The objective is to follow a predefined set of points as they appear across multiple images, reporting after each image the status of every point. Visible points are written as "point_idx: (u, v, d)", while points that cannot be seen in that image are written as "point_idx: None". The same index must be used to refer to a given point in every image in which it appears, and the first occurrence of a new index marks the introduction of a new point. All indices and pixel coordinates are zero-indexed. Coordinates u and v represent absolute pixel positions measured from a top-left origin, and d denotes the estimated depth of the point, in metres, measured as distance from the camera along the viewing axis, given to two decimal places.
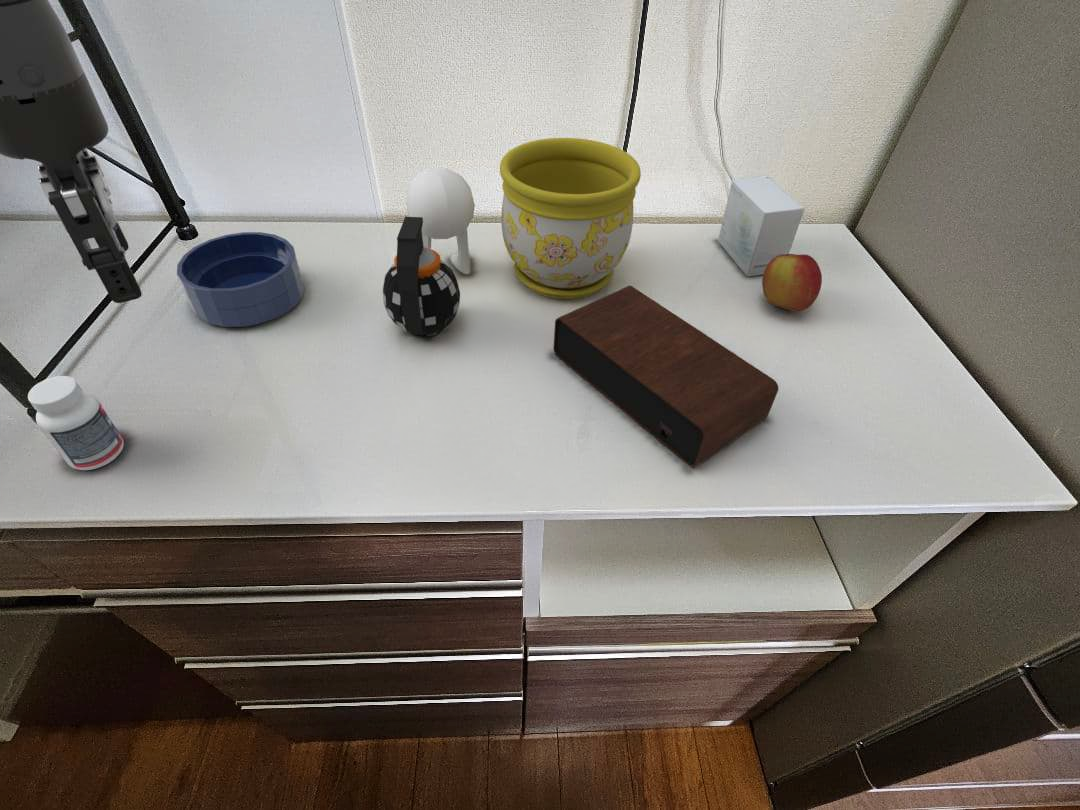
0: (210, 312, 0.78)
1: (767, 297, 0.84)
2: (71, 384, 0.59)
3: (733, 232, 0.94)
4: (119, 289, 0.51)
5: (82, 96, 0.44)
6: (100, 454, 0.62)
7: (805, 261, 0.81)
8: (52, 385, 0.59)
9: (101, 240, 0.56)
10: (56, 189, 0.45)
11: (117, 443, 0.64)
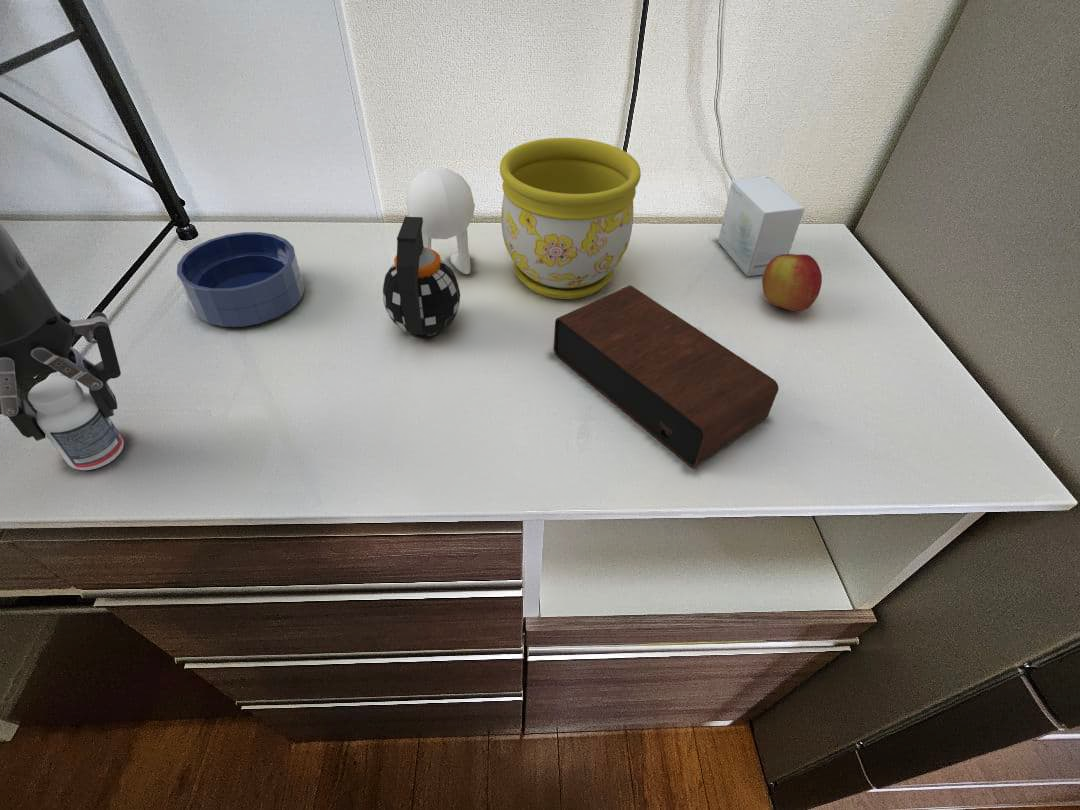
0: (210, 312, 0.78)
1: (767, 297, 0.84)
2: (71, 384, 0.59)
3: (733, 232, 0.94)
4: None
5: None
6: (100, 454, 0.62)
7: (805, 261, 0.81)
8: (52, 385, 0.59)
9: None
10: None
11: (117, 443, 0.64)
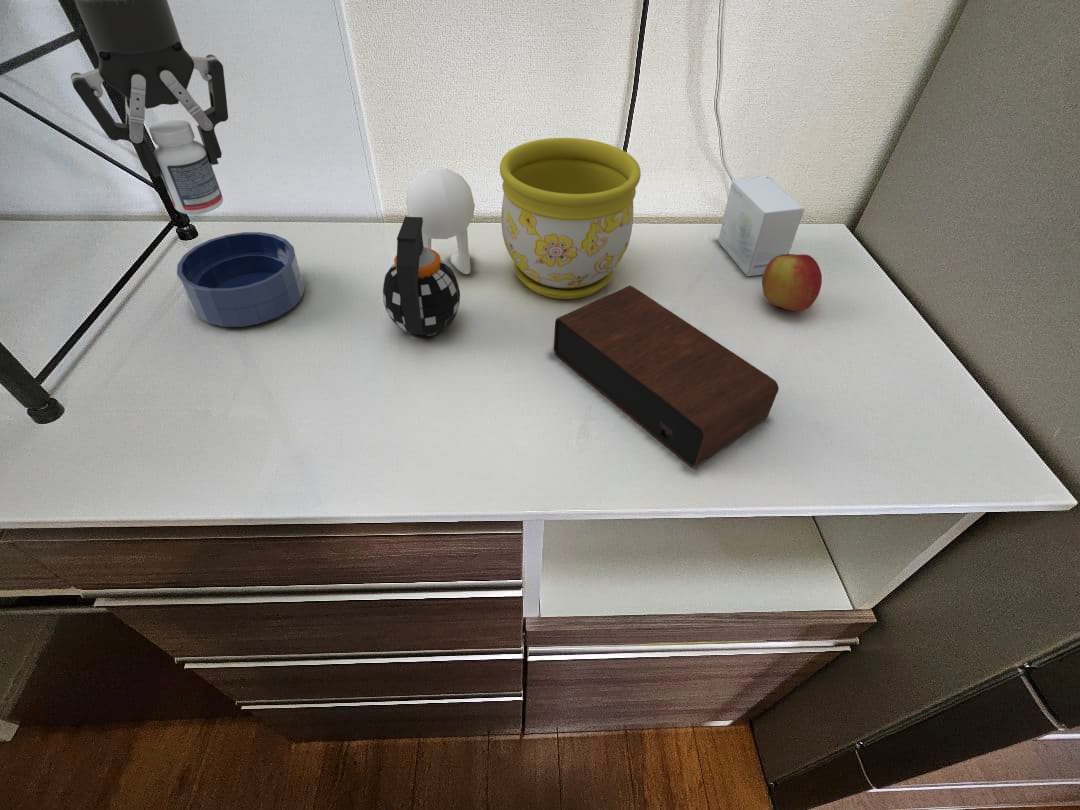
0: (210, 312, 0.78)
1: (767, 297, 0.84)
2: (185, 124, 0.67)
3: (733, 232, 0.94)
4: None
5: (105, 15, 0.56)
6: (206, 198, 0.70)
7: (805, 261, 0.81)
8: (169, 124, 0.67)
9: None
10: None
11: (219, 194, 0.72)
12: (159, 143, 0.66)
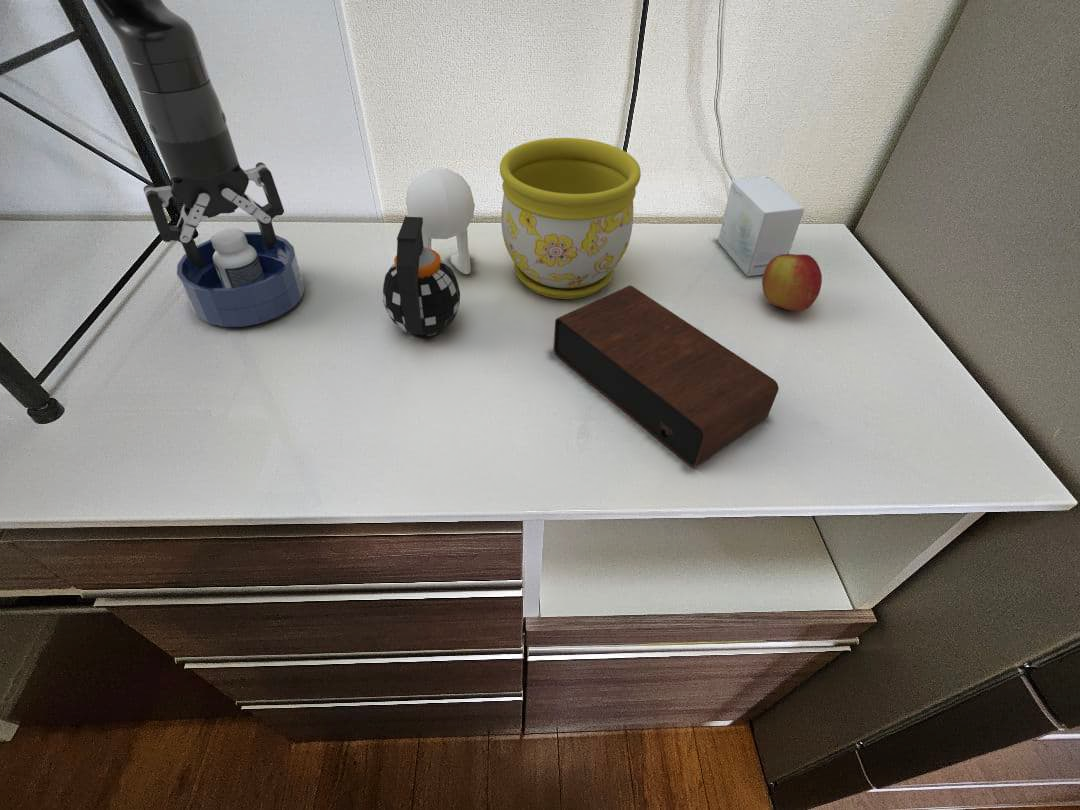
0: (210, 312, 0.78)
1: (767, 297, 0.84)
2: (240, 233, 0.79)
3: (733, 232, 0.94)
4: None
5: (181, 152, 0.67)
6: None
7: (805, 261, 0.81)
8: (227, 233, 0.78)
9: (262, 235, 0.81)
10: None
11: None
12: (219, 250, 0.78)
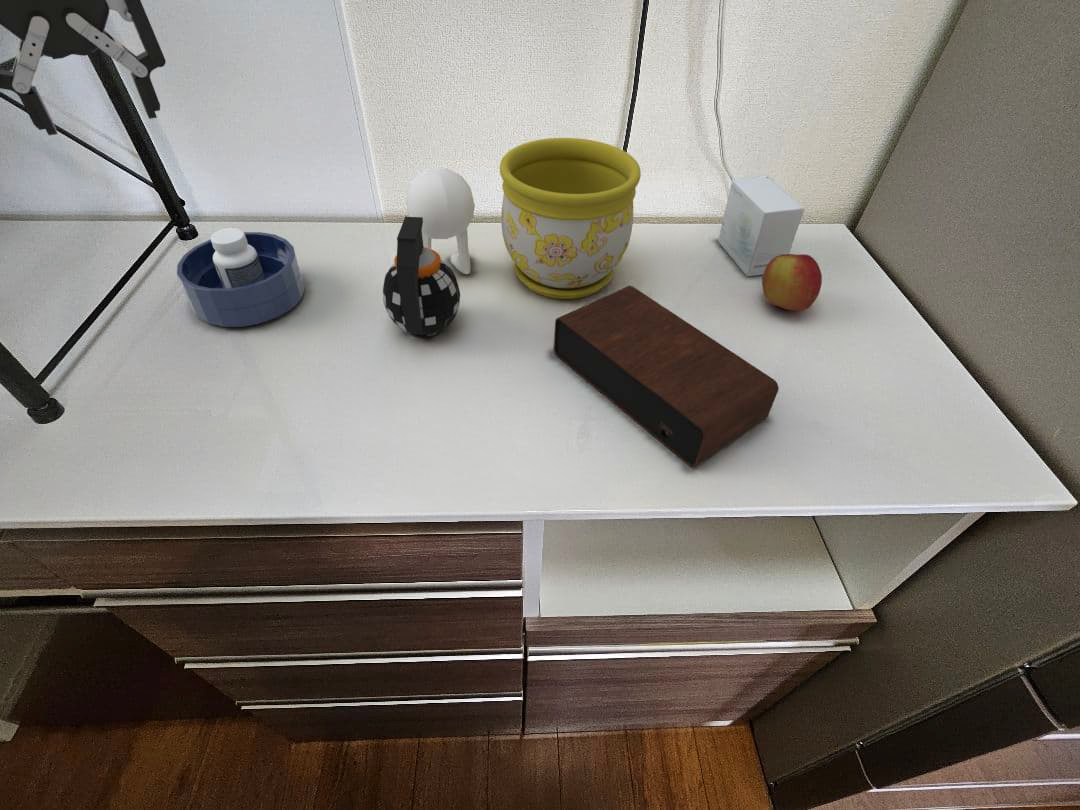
0: (210, 312, 0.78)
1: (767, 297, 0.84)
2: (240, 233, 0.79)
3: (733, 232, 0.94)
4: None
5: None
6: None
7: (805, 261, 0.81)
8: (227, 233, 0.78)
9: None
10: None
11: None
12: (219, 250, 0.78)
